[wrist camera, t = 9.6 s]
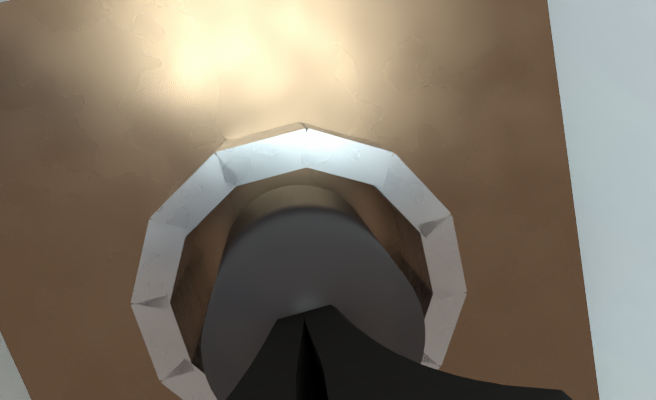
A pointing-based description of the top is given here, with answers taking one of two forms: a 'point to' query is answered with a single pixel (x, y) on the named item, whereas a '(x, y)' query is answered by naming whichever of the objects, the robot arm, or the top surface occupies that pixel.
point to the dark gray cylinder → (302, 280)
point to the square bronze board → (280, 177)
